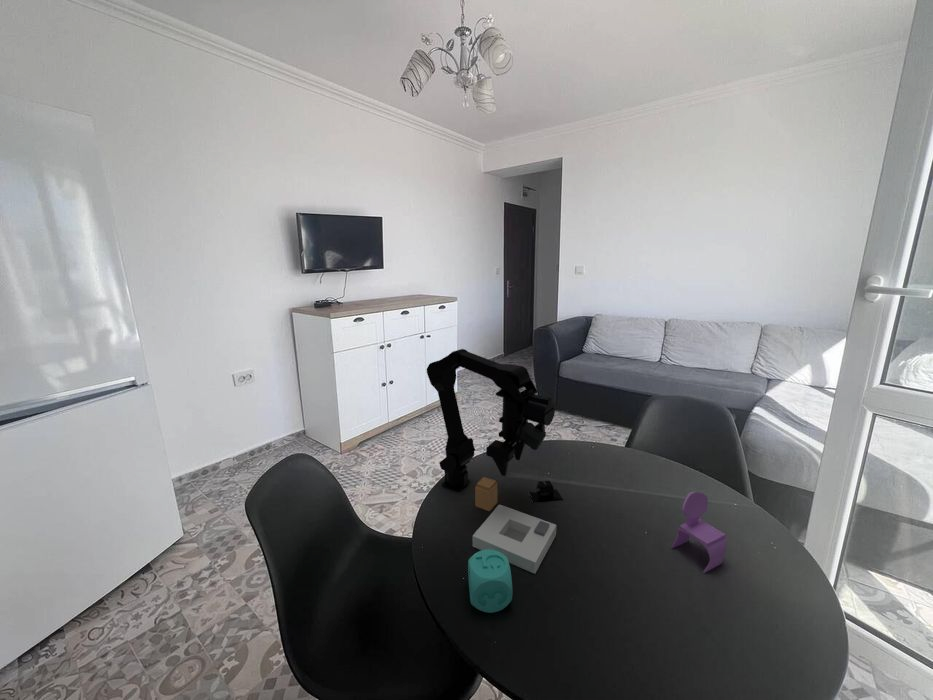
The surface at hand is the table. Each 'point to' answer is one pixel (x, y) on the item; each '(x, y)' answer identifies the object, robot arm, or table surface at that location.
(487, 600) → the decorative dice
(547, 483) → the black angular piece
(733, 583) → the table surface
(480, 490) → the brown block
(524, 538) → the socket plate
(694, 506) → the toy chair
